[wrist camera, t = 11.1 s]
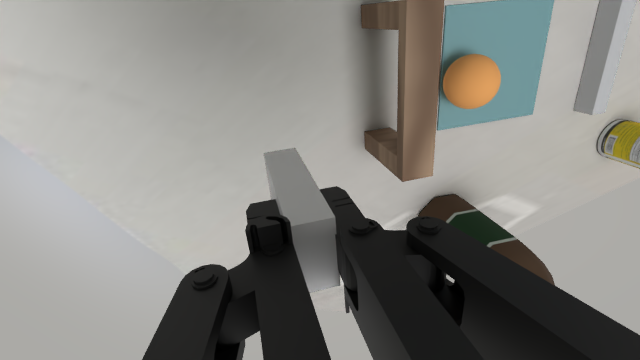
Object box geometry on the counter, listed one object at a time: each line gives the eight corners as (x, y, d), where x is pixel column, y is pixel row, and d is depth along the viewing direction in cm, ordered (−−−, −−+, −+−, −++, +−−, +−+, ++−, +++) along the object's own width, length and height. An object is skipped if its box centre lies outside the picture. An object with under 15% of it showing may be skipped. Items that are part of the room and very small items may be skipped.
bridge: (364, 148, 39) (402, 181, 31) (361, 5, 33) (406, -1, 25) (389, 144, 40) (432, 175, 32) (390, 2, 33) (444, -4, 25)
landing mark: (445, 5, 35) (446, 5, 35) (553, -5, 37) (555, -5, 37) (437, 129, 40) (438, 130, 40) (531, 113, 43) (532, 114, 43)
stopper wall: (603, -14, 38) (626, -17, 36) (617, -16, 39) (641, -18, 36) (573, 110, 44) (591, 115, 42) (586, 108, 45) (605, 112, 43)
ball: (515, 56, 32) (495, 51, 37) (453, 57, 33) (442, 51, 38) (502, 115, 34) (485, 102, 39) (445, 114, 35) (435, 102, 40)
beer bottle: (430, 186, 44) (626, 341, 22) (476, 198, 46) (690, 346, 25) (405, 238, 46) (561, 421, 25) (450, 246, 49) (625, 418, 28)
